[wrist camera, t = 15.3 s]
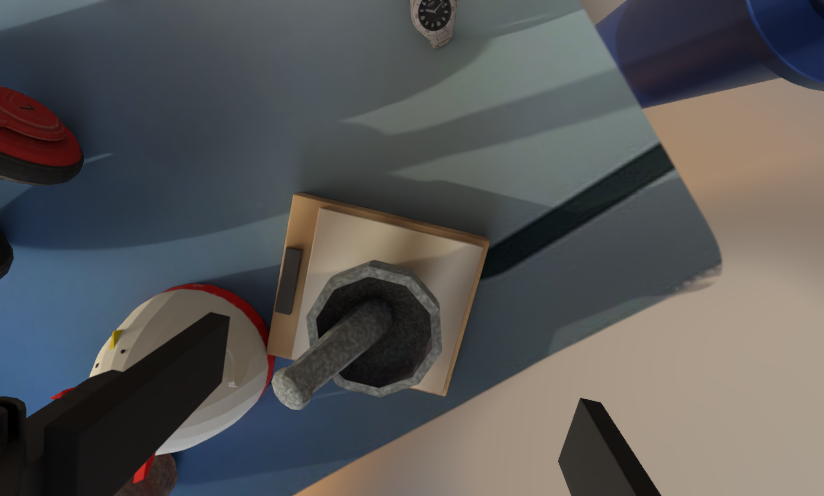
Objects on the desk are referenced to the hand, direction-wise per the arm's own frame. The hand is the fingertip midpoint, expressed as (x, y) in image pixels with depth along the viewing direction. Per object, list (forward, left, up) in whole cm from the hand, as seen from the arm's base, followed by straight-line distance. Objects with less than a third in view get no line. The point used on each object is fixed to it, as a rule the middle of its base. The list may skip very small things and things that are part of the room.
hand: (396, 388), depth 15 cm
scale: (+3, +5, -23) cm, 23 cm away
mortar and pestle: (+2, +5, -20) cm, 21 cm away
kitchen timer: (+18, +15, -23) cm, 33 cm away
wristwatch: (+4, -19, -23) cm, 30 cm away
